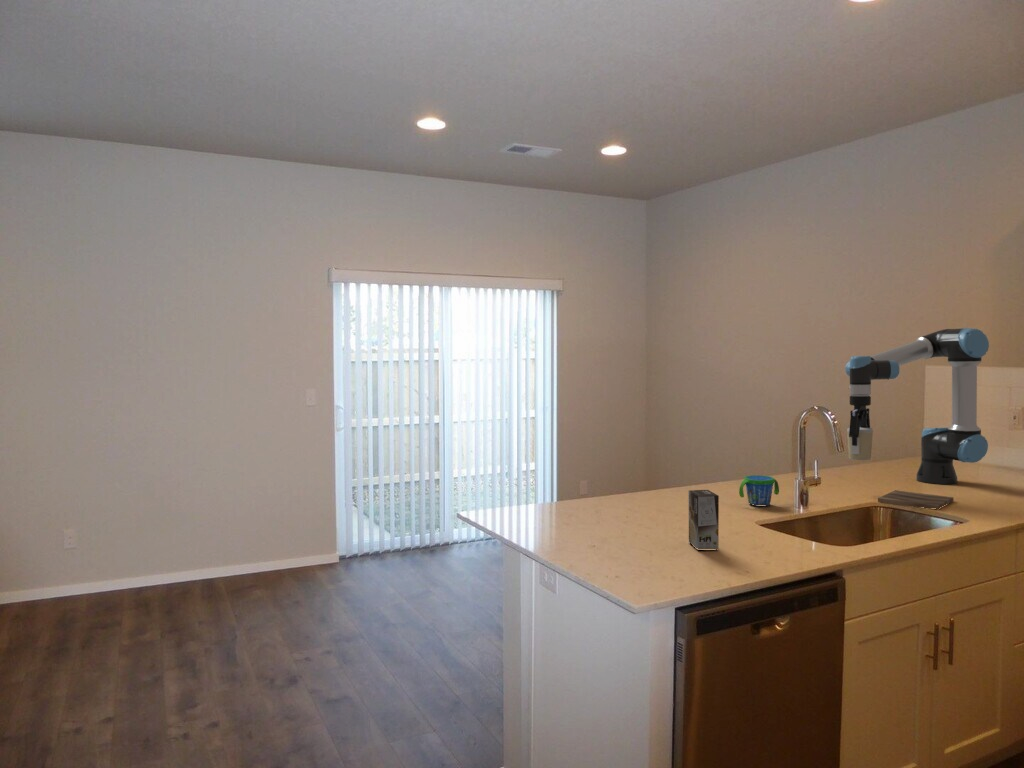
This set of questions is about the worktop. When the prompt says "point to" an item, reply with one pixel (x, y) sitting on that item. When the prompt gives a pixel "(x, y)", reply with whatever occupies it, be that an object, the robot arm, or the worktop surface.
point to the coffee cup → (862, 444)
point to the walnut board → (915, 499)
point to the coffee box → (703, 519)
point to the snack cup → (759, 489)
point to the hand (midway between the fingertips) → (859, 452)
